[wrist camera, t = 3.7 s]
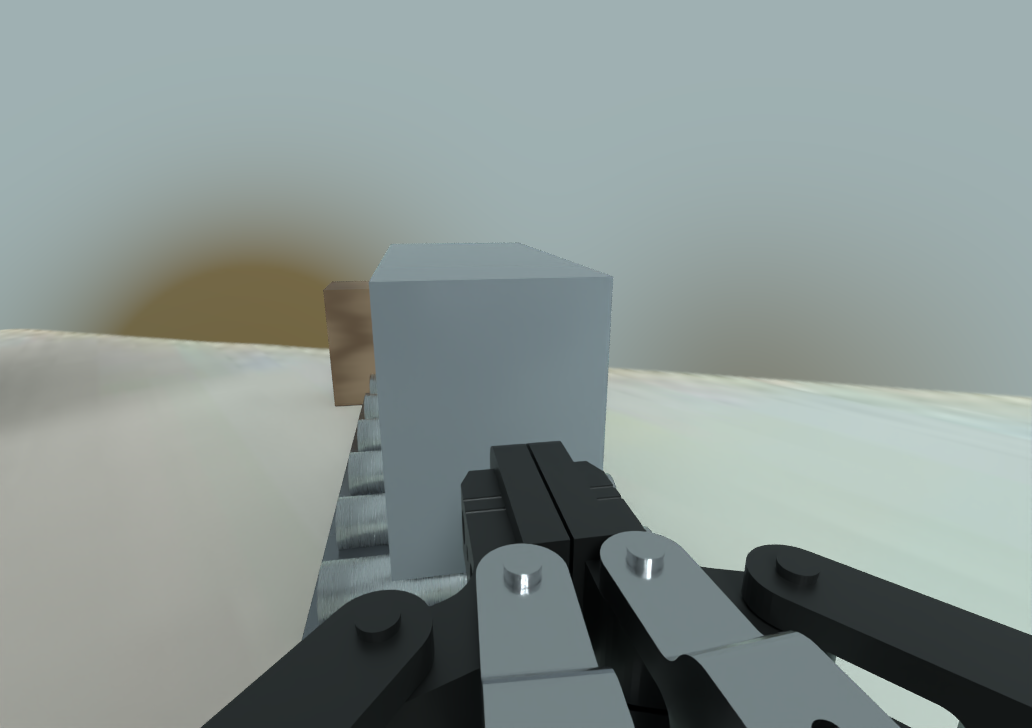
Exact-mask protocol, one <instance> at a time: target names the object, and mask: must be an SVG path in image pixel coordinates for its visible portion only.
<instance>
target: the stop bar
mask: <svg viewBox="0 0 1032 728" xmlns="http://www.w3.org/2000/svg"><path fill="white" fill-rule="evenodd" d="M323 292H324V301H325V311H326V320H327V330H328V341H329V351H330V360H331V370H332V380H333V390H334V400H335V406H345V405H361V404H363V401H364V397H365V393H370V374H376V370H375V357H374V344H373V331H372V318H371V305H370V292H369V281H341V282H332V283H331V284H329V285H328V286H327V287H326V288H325V289H324V290H323Z"/></svg>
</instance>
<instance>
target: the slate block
mask: <svg viewBox="0 0 1032 728" xmlns="http://www.w3.org/2000/svg"><path fill="white" fill-rule="evenodd" d="M612 289H613V276H610V275H608V274H605V273H602V272H599V271H596V270H594V269H590V268H588V267H585V266H583V265H579V264H577V263H574V262H571V261H569V260H566V259H563V258H560V257H557V256H555V255H552V254H549V253H546V252H543V251H541V250H538V249H535V248H532V247H529V246H527V245H524V244H521V243H440V244H439V243H437V244H436V243H435V244H391V245H390V247H389V248H388V250H387V252H386V254H385V255H384V257H383V259H382V260H381V262H380V264H379V265H378V267H377V269H376V270H375V272H374V274H373V276H372V277H371V279H370V281H369V292H370V305H371V318H372V331H373V344H374V357H375V370H376V383H377V396H378V409H379V422H380V435H381V448H382V461H383V473H384V486H385V499H386V512H387V525H388V538H389V551H390V564H391V577H392V581H399V580H407V579H416V578H424V577H433V576H441V575H450V574H458V573H466V566H465V560H464V553H463V540H462V508H461V483H462V481H463V480H464V478H465V476H466V475H467V473H468V471H473V470H485V469H490V448H491V446H498V445H511V444H524V443H525V444H527V443H535V442H548V441H561V442H562V444H563V445H564V447H565V448H566V450H567V452H568V453H569V455H570V457H571V458H572V460H573V461H574V462H578V461H587V462H589V463H591V464H592V465H594V466H596V467H597V468H599V469H601V470H602V471H603V458H604V439H605V420H606V402H607V383H608V364H609V345H610V327H611V308H612Z"/></svg>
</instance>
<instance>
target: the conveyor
mask: <svg viewBox="0 0 1032 728" xmlns="http://www.w3.org/2000/svg"><path fill="white" fill-rule="evenodd" d="M605 474H606V475H607V477H608V478H609V480H610V481H611V482H612V484H613V487H615V488H616V486H615V483H614V481H613V479H612V477H611V475H610V474H608V473H605ZM643 527H644V529H645V530H646V532H650V533H652V532H651V530H650V529H649V528H647V527H645V526H643ZM467 583H468V580H467V574H466V573H458V574H450V575H441V576H433V577H424V578H416V579H407V580H399V581H392V577H391V564H390V551H389V538H388V525H387V512H386V499H385V486H384V473H383V461H382V448H381V435H380V422H379V409H378V396H377V383H376V374H370V393H365V397H364V401H363V405H362V409H361V412H360V416H359V420H358V424H357V428H356V432H355V436H354V440H353V443H352V447H351V451H350V455H349V459H348V463H347V467H346V471H345V474H344V478H343V482H342V486H341V490H340V494H339V498H338V501H337V505H336V509H335V513H334V517H333V521H332V525H331V529H330V533H329V536H328V540H327V544H326V548H325V552H324V556H323V560H322V564H321V567H320V571H319V575H318V579H317V583H316V587H315V591H314V595H313V598H312V602H311V606H310V610H309V614H308V618H307V622H306V626H305V630H304V633H303V637H302V640H303V639H304V638H305V637H307V636H308V635H309V634H310V633H311V632H312V631H314V630H315V629H316V628H317V627H318V626H319V625H321V624H322V623H323V622H324V621H325V620H326V619H328V618H329V617H330V616H331V615H332V614H333V613H335V612H336V611H337V610H338V609H339V608H340V607H342V606H343V605H344V604H346V603H347V602H349V601H351V600H352V599H354V598H356V597H359V596H361V595H363V594H367V593H370V592H374V591H379V590H402V591H406V592H410V593H413V594H414V595H416V596H418V597H420V598H421V599H422V600H424V601H425V603H426V604H427V605H428V606H432V605H434V604H437V603H439V602H442V601H444V600H446V599H448V598H450V597H452V596H453V595H455V594H456V593H458V592H459V591H460V590H461V589H462V588H463V587H464V586H465V585H466V584H467Z"/></svg>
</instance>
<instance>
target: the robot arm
mask: <svg viewBox="0 0 1032 728" xmlns="http://www.w3.org/2000/svg"><path fill="white" fill-rule="evenodd" d="M461 508H462V540H463V553H464V560H465V566H466V574H467V580H468V583H467V584H466V585H465V586H464V587H463V588H462V589H461V590H460V591H459V592H458V593H456V594H455V595H453V596H452V597H450V598H448V599H446V600H444V601H442V602H439V603H437V604H434V605H432V606H428V605H427V604H426V603H425V601H424V600H422V599H421V598H420V597H418V596H416V595H414V594H413V593H410V592H406V591H402V590H379V591H374V592H370V593H367V594H363V595H361V596H359V597H356V598H354V599H352V600H351V601H349V602H347V603H346V604H344V605H343V606H342V607H340V608H339V609H338V610H337V611H336V612H335V613H333V614H332V615H331V616H330V617H329V618H328V619H326V620H325V621H324V622H323V623H322V624H321V625H319V626H318V627H317V628H316V629H315V630H314V631H312V632H311V633H310V634H309V635H308V636H307V637H305V638H304V639H303V640H302V641H301V642H300V643H298V644H297V645H296V646H295V647H294V648H293V649H292V650H290V651H289V652H288V653H287V654H286V655H285V656H283V657H282V658H281V659H280V660H279V661H278V662H276V663H275V664H274V665H273V666H272V667H271V668H269V669H268V670H267V671H266V672H265V673H264V674H262V675H261V676H260V677H259V678H258V679H257V680H255V681H254V682H253V683H252V684H251V685H250V686H248V687H247V688H246V689H245V690H244V691H243V692H242V693H240V694H239V695H238V696H237V697H236V698H235V699H233V700H232V701H231V702H230V703H229V704H228V705H226V706H225V707H224V708H223V709H222V710H221V711H219V712H218V713H217V714H216V715H215V716H214V717H212V718H211V719H210V720H209V721H208V722H207V723H205V724H204V725H203V726H202V727H201V728H911V727H909V726H907V725H905V724H903V723H901V722H899V721H897V720H895V719H893V718H891V717H889V716H888V715H887V714H886V713H885V712H884V711H883V710H882V709H881V708H880V707H879V706H878V705H877V704H876V703H875V702H874V701H873V700H872V699H871V698H870V697H869V696H868V695H867V694H866V693H865V692H864V691H863V690H862V689H861V688H860V687H859V686H858V685H857V684H856V683H855V682H854V681H853V680H852V679H851V678H850V677H849V676H848V675H846V674H845V673H844V672H843V671H842V670H841V669H840V668H839V667H838V666H837V665H836V664H835V660H836V656H837V657H839V658H841V659H843V660H845V661H848V662H850V663H852V664H854V665H856V666H858V667H860V668H862V669H864V670H866V671H869V672H871V673H873V674H875V675H877V676H879V677H881V678H883V679H885V680H887V681H890V682H892V683H894V684H896V685H898V686H900V687H902V688H904V689H906V690H908V691H910V692H913V693H915V694H917V695H919V696H921V697H923V698H925V699H927V700H929V701H931V702H934V703H936V704H938V705H940V706H941V707H943V708H945V709H946V710H948V711H949V712H951V713H952V714H953V715H954V716H955V717H956V718H957V719H958V720H959V724H958V727H957V728H1032V635H1029V634H1027V633H1024V632H1022V631H1019V630H1016V629H1014V628H1011V627H1008V626H1006V625H1003V624H1000V623H998V622H995V621H992V620H990V619H987V618H984V617H982V616H979V615H976V614H974V613H971V612H969V611H966V610H963V609H961V608H958V607H955V606H953V605H950V604H947V603H945V602H942V601H939V600H937V599H934V598H931V597H929V596H926V595H923V594H921V593H918V592H915V591H913V590H910V589H908V588H905V587H902V586H900V585H897V584H894V583H892V582H889V581H886V580H884V579H881V578H878V577H876V576H873V575H870V574H868V573H865V572H862V571H860V570H857V569H854V568H852V567H849V566H847V565H844V564H841V563H839V562H836V561H833V560H831V559H828V558H825V557H823V556H820V555H817V554H815V553H812V552H809V551H806V550H803V549H800V548H797V547H792V546H787V545H764V546H760V547H757V548H755V549H753V550H752V551H751V552H750V553H749V554H748V555H747V558H746V564H745V571H744V572H743V571H733V570H724V569H714V568H706V567H700V566H699V565H698V564H697V563H696V562H695V561H694V560H693V559H692V558H691V557H690V555H689V554H688V553H687V552H686V551H685V550H684V549H683V548H682V547H681V546H680V545H678V544H677V543H675V542H674V541H672V540H670V539H668V538H666V537H664V536H661V535H658V534H655V533H650V532H646V530H645V529H644V527H643V526H642V525H641V523H640V522H639V520H638V519H637V518H636V516H635V515H634V513H633V512H632V511H631V509H630V508H629V506H628V505H627V504H626V502H625V501H624V499H621V495H620V494H619V492H618V491H617V489H616V488H615V487H613V484H612V482H611V481H610V480H609V478H608V477H607V475H606V474H605V473H604V471H602V470H601V469H599V468H597V467H596V466H594V465H592V464H591V463H589V462H587V461H578V462H574V461H573V460H572V458H571V457H570V455H569V453H568V452H567V450H566V448H565V447H564V445H563V444H562V442H561V441H548V442H535V443H527V444H525V443H524V444H511V445H498V446H491V448H490V469H485V470H473V471H468V473H467V475H466V476H465V478H464V480H463V481H462V483H461Z"/></svg>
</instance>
